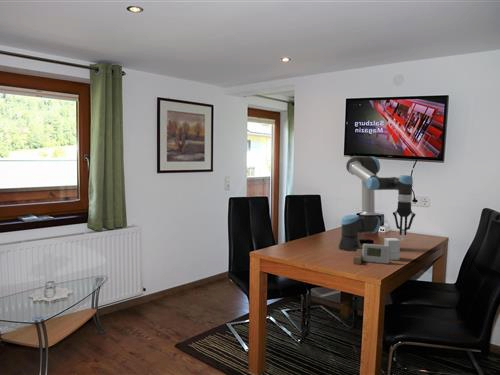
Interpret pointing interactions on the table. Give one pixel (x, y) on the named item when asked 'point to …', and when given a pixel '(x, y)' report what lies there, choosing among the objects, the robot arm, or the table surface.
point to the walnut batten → (358, 257)
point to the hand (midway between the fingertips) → (402, 240)
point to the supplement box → (393, 248)
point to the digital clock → (376, 253)
